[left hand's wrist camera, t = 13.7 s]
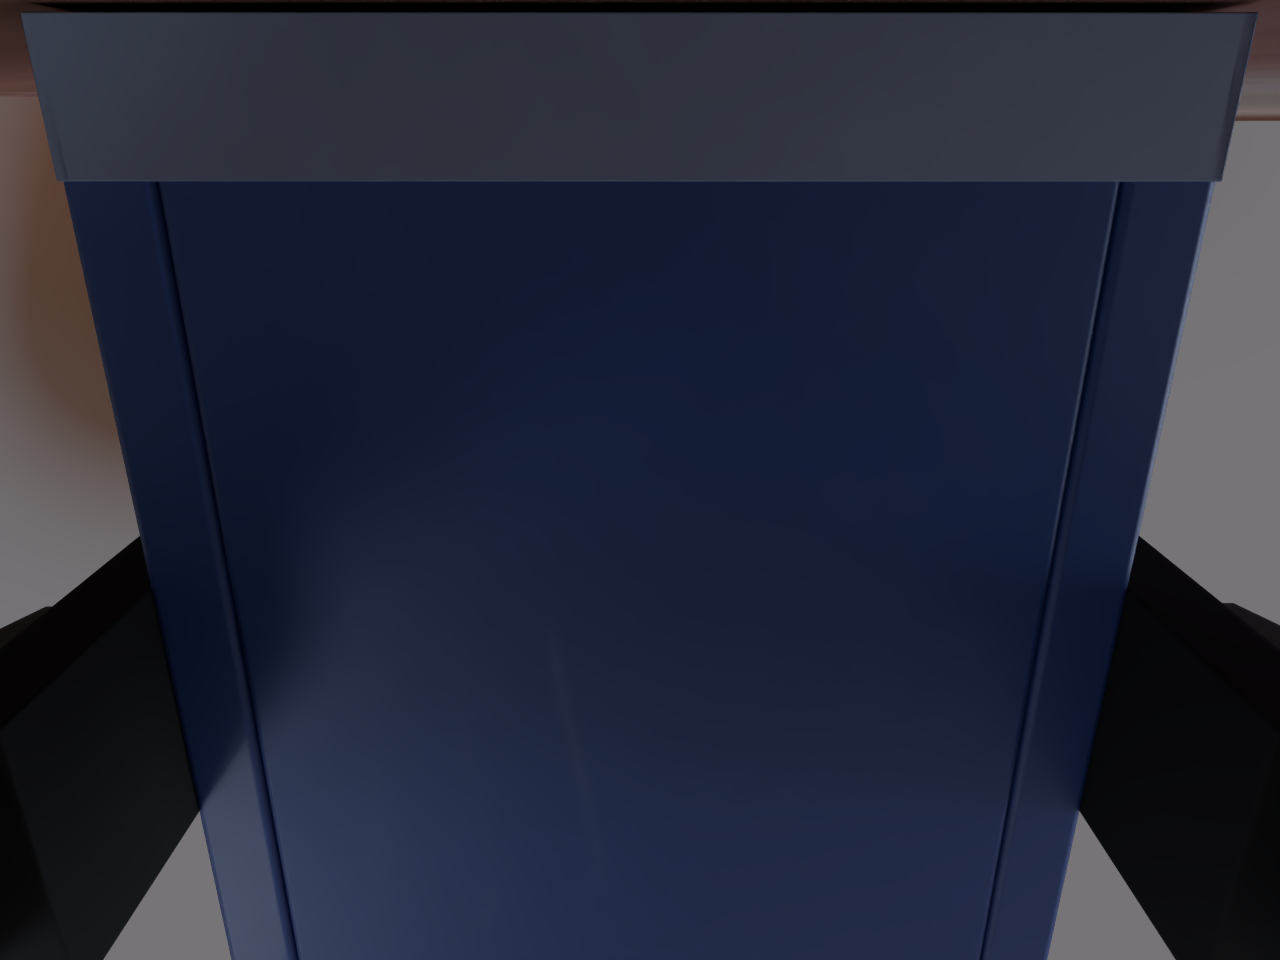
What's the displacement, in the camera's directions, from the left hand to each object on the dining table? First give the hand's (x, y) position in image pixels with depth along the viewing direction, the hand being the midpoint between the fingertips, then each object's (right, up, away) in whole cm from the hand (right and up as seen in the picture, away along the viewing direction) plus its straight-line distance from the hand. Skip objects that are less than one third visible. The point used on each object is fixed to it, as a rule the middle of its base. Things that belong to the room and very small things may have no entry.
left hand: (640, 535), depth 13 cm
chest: (0, +7, +1) cm, 7 cm away
